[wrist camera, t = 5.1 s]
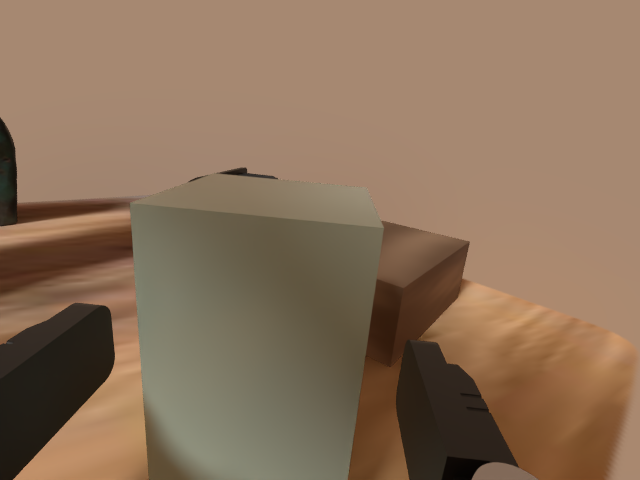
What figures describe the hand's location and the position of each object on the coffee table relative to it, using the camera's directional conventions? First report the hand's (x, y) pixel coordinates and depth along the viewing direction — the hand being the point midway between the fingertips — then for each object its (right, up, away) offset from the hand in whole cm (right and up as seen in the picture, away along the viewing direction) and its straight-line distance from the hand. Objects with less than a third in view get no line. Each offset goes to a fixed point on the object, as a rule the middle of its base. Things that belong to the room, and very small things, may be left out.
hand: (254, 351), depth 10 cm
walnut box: (+4, -2, +18) cm, 18 cm away
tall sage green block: (0, -5, +4) cm, 6 cm away
